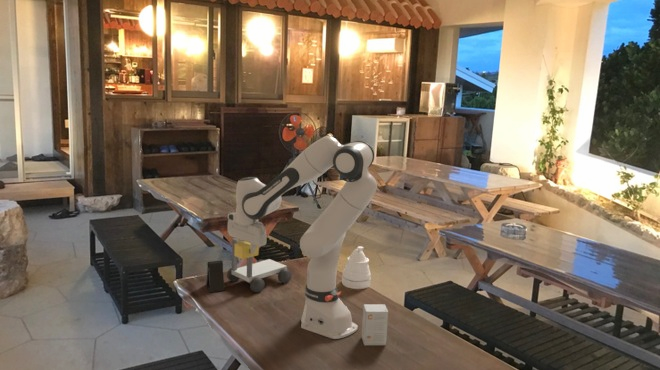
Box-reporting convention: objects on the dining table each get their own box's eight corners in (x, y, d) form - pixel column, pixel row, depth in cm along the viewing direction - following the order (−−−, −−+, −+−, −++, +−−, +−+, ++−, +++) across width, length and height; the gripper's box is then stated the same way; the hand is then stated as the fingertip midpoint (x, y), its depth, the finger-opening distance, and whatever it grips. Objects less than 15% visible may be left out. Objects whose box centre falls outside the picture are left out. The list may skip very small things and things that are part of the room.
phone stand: (224, 291, 231) (224, 264, 228) (210, 292, 228) (210, 265, 226) (219, 283, 239) (219, 257, 236) (205, 284, 236) (205, 258, 234)
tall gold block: (258, 255, 215) (258, 243, 214) (241, 259, 209) (242, 246, 208) (250, 251, 218) (251, 240, 217) (234, 255, 213) (234, 243, 212)
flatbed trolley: (264, 270, 257) (265, 228, 252) (291, 281, 245) (292, 237, 240) (226, 281, 241) (227, 237, 236) (253, 294, 229) (254, 247, 224)
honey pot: (375, 287, 243) (378, 249, 240) (350, 290, 238) (352, 251, 234) (361, 276, 255) (364, 240, 251) (337, 280, 249) (339, 242, 246)
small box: (382, 337, 197) (385, 303, 195) (386, 345, 191) (388, 311, 189) (360, 337, 197) (363, 303, 194) (363, 345, 190) (366, 311, 188)
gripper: (270, 222, 206) (270, 256, 209) (237, 211, 220) (237, 243, 223) (258, 225, 202) (257, 260, 204) (224, 213, 215) (224, 246, 218)
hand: (246, 251), depth 214 cm, fingers closed on tall gold block, 5 cm apart
